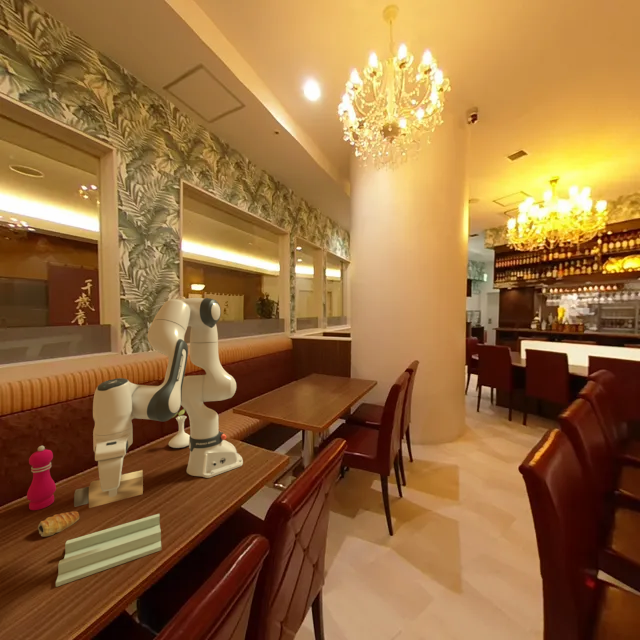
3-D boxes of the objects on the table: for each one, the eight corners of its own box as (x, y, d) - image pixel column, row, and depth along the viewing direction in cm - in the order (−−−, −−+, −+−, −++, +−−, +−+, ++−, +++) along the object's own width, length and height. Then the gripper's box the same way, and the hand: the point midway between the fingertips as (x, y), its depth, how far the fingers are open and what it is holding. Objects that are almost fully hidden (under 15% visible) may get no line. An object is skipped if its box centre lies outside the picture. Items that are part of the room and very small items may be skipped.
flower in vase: (185, 438, 156) (185, 390, 156) (198, 443, 150) (198, 394, 149) (160, 447, 146) (160, 396, 145) (173, 453, 139) (172, 400, 139)
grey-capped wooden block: (142, 487, 87) (142, 470, 87) (142, 494, 84) (142, 476, 84) (77, 503, 80) (76, 484, 79) (74, 512, 76) (73, 492, 76)
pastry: (74, 514, 97) (74, 502, 97) (83, 522, 93) (83, 510, 93) (35, 532, 89) (35, 519, 89) (43, 541, 85) (43, 528, 85)
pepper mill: (39, 498, 105) (38, 441, 105) (61, 497, 106) (60, 441, 105) (20, 512, 98) (19, 451, 97) (44, 510, 98) (43, 450, 98)
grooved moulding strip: (159, 520, 94) (159, 508, 94) (161, 550, 82) (161, 537, 82) (68, 547, 83) (68, 534, 83) (55, 587, 71) (55, 572, 71)
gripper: (103, 429, 89) (104, 475, 89) (93, 457, 72) (94, 515, 72) (128, 425, 92) (129, 470, 93) (125, 451, 75) (125, 506, 75)
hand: (114, 490), depth 82 cm, fingers closed on grey-capped wooden block, 4 cm apart
